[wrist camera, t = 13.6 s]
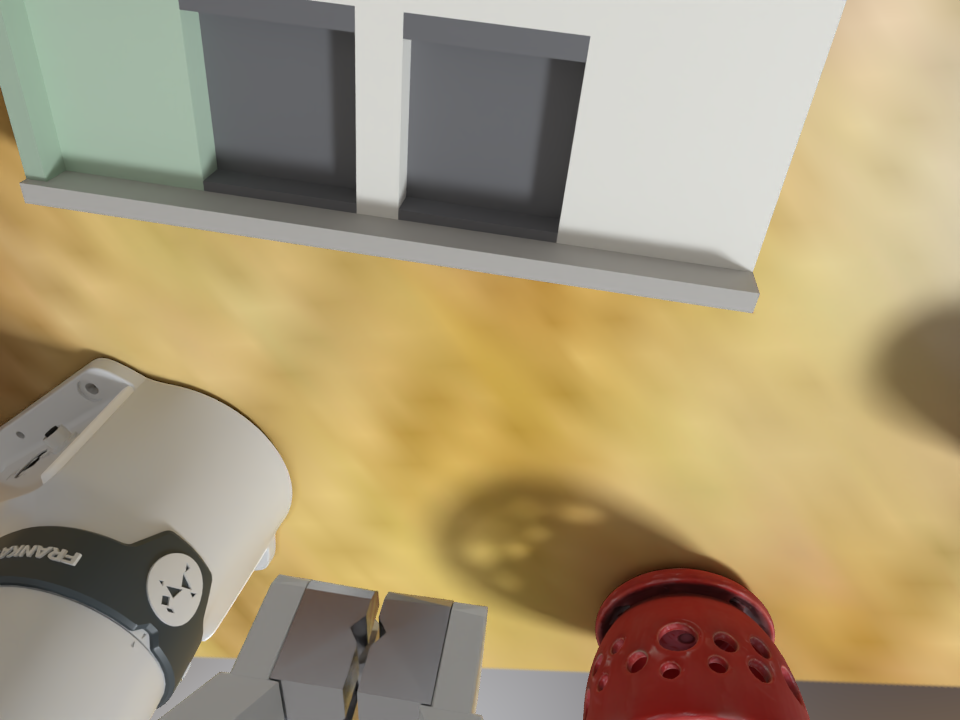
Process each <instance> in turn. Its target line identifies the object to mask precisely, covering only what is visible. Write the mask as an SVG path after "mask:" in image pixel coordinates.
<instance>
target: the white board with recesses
mask: <svg viewBox="0 0 960 720" xmlns="http://www.w3.org/2000/svg"><path fill="white" fill-rule="evenodd" d="M846 1H847V0H178V2H179V9H180V10H186V11H194V12H198V13H199V21H200V30H201V38H202V46H203V54H204V62H205V70H206V79H207V87H208V95H209V103H210V111H211V119H212V128H213V136H214V144H215V152H216V160H217V168H218V169H217V170H216V171H215V172H213V173H212V174H211V175H210V176H208V177H207V178H206V179H205V180H204V181H203V185H204V191H201V190H195V189H188V188H181V187H174V186H168V185H161V184H154V183H147V182H140V181H134V180H127V179H120V178H113V177H107V176H100V175H93V174H86V173H80V172H73V171H64V172H62V173H61V174H59V175H57V176H56V177H54V178H52V179H50V180H49V181H47V182H45V181H38V180H31V179H25V180H24V181H22V182H20V186H21V190H22V193H23V197H24V200H25V203H29V204H36V205H42V206H49V207H56V208H62V209H69V210H75V211H82V212H88V213H95V214H102V215H108V216H115V217H121V218H128V219H135V220H141V221H148V222H154V223H161V224H168V225H174V226H181V227H187V228H194V229H201V230H207V231H214V232H220V233H227V234H234V235H240V236H247V237H253V238H260V239H267V240H273V241H280V242H286V243H293V244H299V245H306V246H313V247H319V248H326V249H332V250H339V251H346V252H352V253H359V254H365V255H372V256H379V257H385V258H392V259H398V260H405V261H412V262H418V263H425V264H431V265H438V266H445V267H451V268H458V269H464V270H471V271H478V272H484V273H491V274H497V275H504V276H510V277H517V278H524V279H530V280H537V281H543V282H550V283H557V284H563V285H570V286H576V287H583V288H590V289H596V290H603V291H609V292H616V293H623V294H629V295H636V296H642V297H649V298H656V299H662V300H669V301H675V302H682V303H689V304H695V305H702V306H708V307H715V308H721V309H728V310H735V311H741V312H748V313H753V311H754V308H755V305H756V303H757V300H758V297H759V294H760V293H759V290H758V287H757V284H756V281H755V278H754V275H753V269H754V267H755V264H756V261H757V258H758V255H759V252H760V249H761V246H762V243H763V241H764V238H765V235H766V232H767V229H768V226H769V223H770V220H771V217H772V215H773V212H774V209H775V206H776V203H777V200H778V197H779V194H780V191H781V188H782V186H783V183H784V180H785V177H786V174H787V171H788V168H789V165H790V162H791V160H792V157H793V154H794V151H795V148H796V145H797V142H798V139H799V136H800V134H801V131H802V128H803V125H804V122H805V119H806V116H807V113H808V110H809V108H810V105H811V102H812V99H813V96H814V93H815V90H816V87H817V84H818V82H819V79H820V76H821V73H822V70H823V67H824V64H825V61H826V58H827V56H828V53H829V50H830V47H831V44H832V41H833V38H834V35H835V32H836V30H837V27H838V24H839V21H840V18H841V15H842V12H843V9H844V6H845V3H846Z"/></svg>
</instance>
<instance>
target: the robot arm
mask: <svg viewBox="0 0 960 720" xmlns="http://www.w3.org/2000/svg"><path fill="white" fill-rule="evenodd" d="M291 501H292V485H291V480H290V476H289V473H288V470H287V468H286V465H285V463H284V461H283V459H282V458H281V456H280V454H279V453H278V451H277V450H276V448H275V447H274V446H273V444H272V443H271V442H270V441H269V439H268V438H267V437H266V436H265V435H264V434H263V433H262V432H261V431H260V430H259V429H258V428H257V427H256V426H255V425H254V424H252V423H251V422H250V421H249V420H248V419H246V418H245V417H244V416H242V415H241V414H239V413H238V412H237V411H235V410H233V409H232V408H230V407H229V406H227V405H225V404H223V403H222V402H220V401H218V400H216V399H214V398H211V397H209V396H207V395H205V394H202V393H199V392H197V391H194V390H191V389H187V388H184V387H180V386H175V385H171V384H166V383H162V382H158V381H155V380H152V379H149V378H146V377H145V376H143V375H141V374H139V373H137V372H136V371H134V370H132V369H130V368H128V367H126V366H124V365H122V364H120V363H118V362H116V361H113V360H110V359H107V358H98V359H95V360H93V361H91V362H90V363H89V364H87V365H86V366H84V367H83V368H82V369H80V370H79V371H78V372H76V373H75V374H73V375H72V376H71V377H69V378H68V379H66V380H65V381H64V382H62V383H61V384H59V385H58V386H57V387H55V388H54V389H53V390H51V391H50V392H48V393H47V394H46V395H44V396H43V397H41V398H40V399H39V400H37V401H36V402H34V403H33V404H32V405H30V406H29V407H28V408H26V409H25V410H23V411H22V412H21V413H19V414H18V415H16V416H15V417H14V418H12V419H11V420H9V421H8V422H7V423H5V424H4V425H3V426H1V427H0V720H150V719H151V717H152V715H153V714H154V712H155V709H158V708H159V707H161V706H162V705H164V704H165V703H166V702H167V701H168V700H169V698H170V697H171V696H172V694H173V692H174V691H175V689H176V687H177V686H178V684H179V683H181V681H182V679H184V677H185V675H186V673H187V672H188V670H189V668H190V666H191V663H190V662H191V660H192V658H193V656H194V654H195V653H196V651H197V649H198V647H199V645H200V643H201V641H206V640H207V639H209V638H210V637H211V636H212V635H213V634H214V632H215V631H216V630H217V628H218V626H219V625H220V623H221V622H222V620H223V619H224V617H225V616H226V614H227V612H228V611H229V609H230V608H231V606H232V605H233V603H234V601H235V600H236V598H237V597H238V595H239V593H240V592H241V590H242V589H243V587H244V585H245V584H246V582H247V581H248V579H249V577H250V576H251V574H252V573H253V571H254V570H262V569H265V568H266V567H267V566H268V565H269V563H270V562H271V560H272V558H273V557H274V555H275V548H276V542H275V534H276V531H277V529H278V528H279V526H280V525H281V523H282V522H283V520H284V519H285V518H286V516H287V514H288V512H289V509H290V506H291ZM378 608H379V596H378V591H373V590H368V589H362V588H356V587H350V586H344V585H339V584H333V583H327V582H321V581H315V580H311V579H305V578H298V577H292V576H286V575H278V576H277V578H276V579H275V580H274V581H273V582H272V584H271V585H270V588H269V590H268V592H267V594H266V596H265V598H264V601H263V603H262V605H261V607H260V609H259V611H258V614H257V616H256V618H255V620H254V622H253V624H252V627H251V629H250V631H249V633H248V635H247V638H246V640H245V642H244V644H243V646H242V648H241V651H240V653H239V655H238V657H237V659H236V661H235V664H234V666H233V668H232V670H231V672H230V673H225V672H219V673H218V674H217V675H216V676H214V677H213V678H212V679H210V680H209V681H208V682H206V683H205V684H204V685H203V686H201V687H200V688H199V689H197V690H196V691H195V692H193V693H192V694H191V695H190V696H188V697H187V698H186V699H184V700H183V701H182V702H180V703H179V704H178V705H176V706H175V707H174V708H173V709H171V710H170V711H169V712H167V713H166V714H165V715H164V716H162V717H161V718H160V719H158V720H483V718H482V716H481V715H477V714H475V713H476V706H477V700H478V693H479V686H480V677H481V668H482V659H483V651H484V641H485V632H486V622H487V613H488V607H487V606H480V605H472V604H465V603H457V602H454V601H452V600H445V599H437V598H430V597H423V596H416V595H408V594H401V593H394V592H388V594H387V596H386V597H385V599H384V602H383V605H382V609H381V612H380V615H379V623H378V622H377V621H376V619H375V618H376V615H377V611H378Z"/></svg>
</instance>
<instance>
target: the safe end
mask: <svg viewBox="0 0 960 720" xmlns="http://www.w3.org/2000/svg"><path fill="white" fill-rule="evenodd" d="M0 86H1V90H2V94H3V97H4V101H5V104H6V108H7V111H8V115H9V118H10V122H11V126H12V129H13V133H14V136H15V140H16V143H17V147H18V150H19V154H20V157H21V161H22V165H23V168H24V172H25V175H26V179H31V180H38V181H45V182H47V181H49V180H50V179H52V178H54V177H56V176H57V175H59V174H61V173H62V172H64V171H73V172H80V173H86V174H93V175H100V176H107V177H113V178H120V179H127V180H134V181H140V182H147V183H154V184H161V185H168V186H174V187H181V188H188V189H195V190H201V191H204V185H203V181H204V180H205V179H206V178H207V177H208V176H210V175H211V174H212V173H213V172H215V171H216V170H217V169H218V168H217V160H216V152H215V144H214V136H213V128H212V119H211V111H210V103H209V95H208V87H207V79H206V70H205V62H204V54H203V46H202V38H201V30H200V21H199V13H198V12H194V11H186V10H180V9H179V2H178V0H0Z"/></svg>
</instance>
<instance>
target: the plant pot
mask: <svg viewBox="0 0 960 720" xmlns="http://www.w3.org/2000/svg"><path fill="white" fill-rule="evenodd" d="M595 632H596V639H597V642H598V645H599V648H598V650H597V653H596V655H595V657H594V660H593V663H592V666H591V670H590V674H589V678H588V682H587V687H586V694H585V702H584V715H583V720H810V719H809V715H808V713H807V710H806V707H805V704H804V701H803V699H802V696H801V693H800V691H799V688H798V686H797V684H796V682H795V679H794V677H793V675H792V673H791V671H790V669H789V667H788V665H787V663H786V661H785V659H784V658H783V656H782V655H781V653H780V651H779V650H778V648H777V647H776V645H775V644H774V641H775V630H774V625H773V621H772V619H771V616H770V614H769V613H768V611H767V609H766V608H765V606H764V605H763V604H762V602H761V601H760V600H759V599H758V598H757V597H756V596H755V595H754V594H753V593H751V592H750V591H749V590H748V589H746V588H745V587H743V586H742V585H740V584H738V583H736V582H735V581H733V580H730V579H728V578H726V577H723V576H721V575H718V574H714V573H711V572H707V571H702V570H697V569H686V568H673V569H663V570H657V571H652V572H648V573H645V574H642V575H639V576H637V577H634V578H632V579H630V580H629V581H627V582H625V583H623V584H622V585H620V586H619V587H618V588H617V589H615V590H614V591H613V592H612V593H611V594H610V595H609V596H608V597H607V598H606V600H605V601H604V602H603V604H602V606H601V607H600V610H599V612H598V615H597V619H596V625H595Z"/></svg>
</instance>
